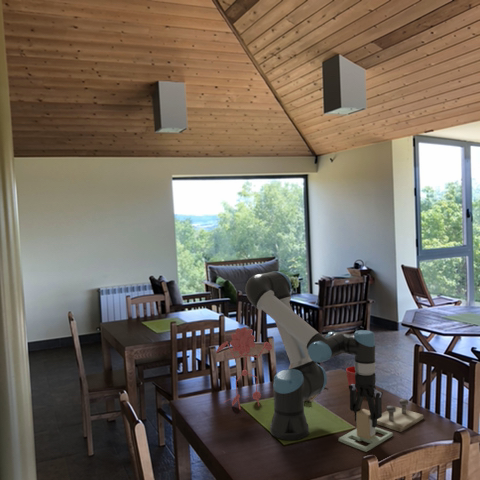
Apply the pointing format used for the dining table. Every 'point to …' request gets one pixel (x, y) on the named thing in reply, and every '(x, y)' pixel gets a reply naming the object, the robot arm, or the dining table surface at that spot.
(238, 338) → the pink tall branching figurine
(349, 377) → the flower pot
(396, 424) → the board
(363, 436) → the upright block on base
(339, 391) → the dining table surface
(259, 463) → the dining table surface
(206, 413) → the dining table surface
